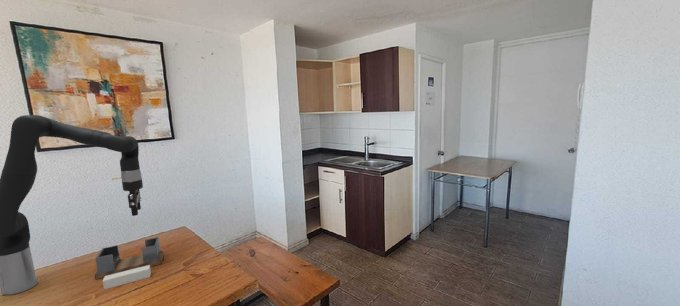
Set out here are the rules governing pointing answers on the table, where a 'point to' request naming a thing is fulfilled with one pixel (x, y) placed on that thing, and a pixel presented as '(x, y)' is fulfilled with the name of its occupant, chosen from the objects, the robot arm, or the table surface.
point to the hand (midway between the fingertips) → (136, 212)
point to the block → (126, 277)
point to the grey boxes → (111, 258)
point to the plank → (130, 264)
